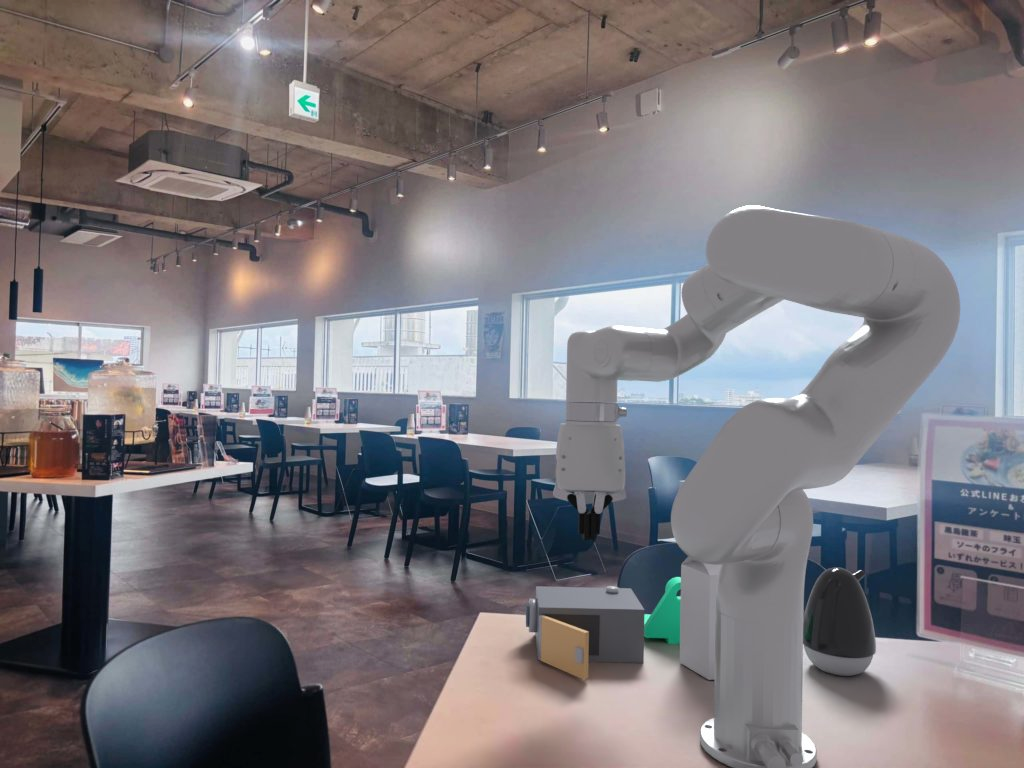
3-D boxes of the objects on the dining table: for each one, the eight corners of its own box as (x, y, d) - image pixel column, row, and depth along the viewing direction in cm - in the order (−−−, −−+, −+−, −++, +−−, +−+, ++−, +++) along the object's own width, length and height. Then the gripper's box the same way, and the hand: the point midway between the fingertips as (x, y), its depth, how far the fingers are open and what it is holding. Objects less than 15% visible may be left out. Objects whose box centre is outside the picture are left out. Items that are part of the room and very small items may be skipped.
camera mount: (705, 630, 123) (706, 571, 123) (718, 645, 115) (719, 582, 116) (636, 629, 123) (637, 569, 123) (645, 644, 115) (646, 581, 115)
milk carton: (749, 675, 102) (750, 544, 103) (708, 681, 100) (710, 547, 100) (717, 658, 109) (719, 535, 109) (679, 663, 106) (681, 537, 107)
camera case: (643, 663, 106) (644, 605, 106) (526, 660, 106) (527, 602, 106) (630, 636, 118) (630, 584, 119) (524, 633, 118) (526, 581, 119)
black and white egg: (892, 676, 103) (893, 572, 103) (842, 687, 99) (844, 578, 99) (833, 653, 112) (834, 557, 113) (785, 662, 108) (787, 562, 108)
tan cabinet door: (581, 680, 98) (582, 633, 98) (535, 659, 105) (536, 616, 105) (588, 678, 99) (589, 631, 99) (541, 657, 106) (542, 614, 106)
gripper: (637, 415, 108) (634, 535, 108) (539, 413, 108) (536, 533, 108) (646, 416, 101) (644, 545, 100) (541, 414, 100) (539, 543, 100)
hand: (588, 538), depth 104 cm, fingers closed
